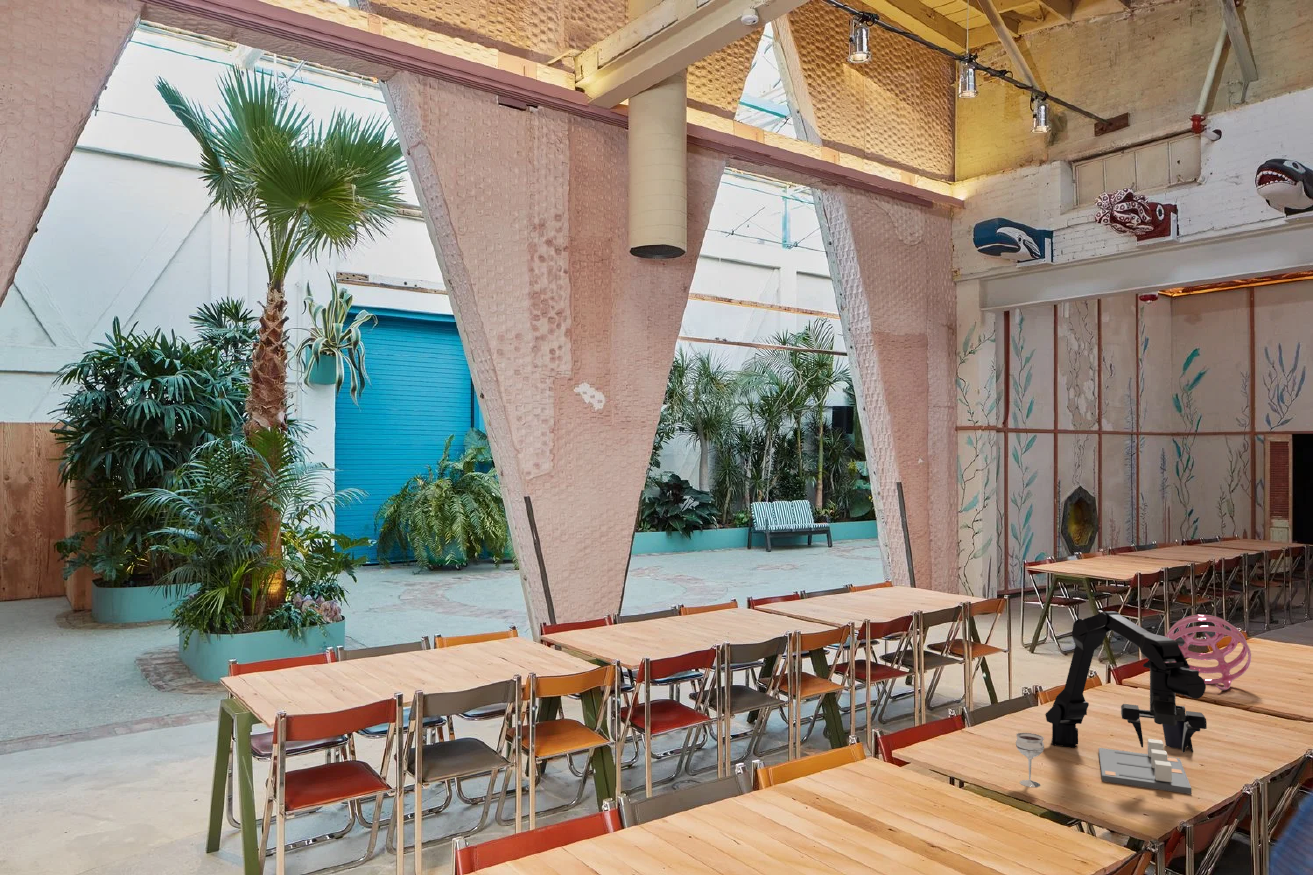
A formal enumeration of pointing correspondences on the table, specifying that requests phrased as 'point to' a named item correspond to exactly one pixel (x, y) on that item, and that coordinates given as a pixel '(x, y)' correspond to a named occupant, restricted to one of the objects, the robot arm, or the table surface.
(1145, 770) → the switch board
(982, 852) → the table surface
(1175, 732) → the speaker
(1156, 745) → the switch far
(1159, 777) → the switch near
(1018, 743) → the wineglass
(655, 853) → the table surface
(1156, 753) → the switch mid
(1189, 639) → the spiral basket
